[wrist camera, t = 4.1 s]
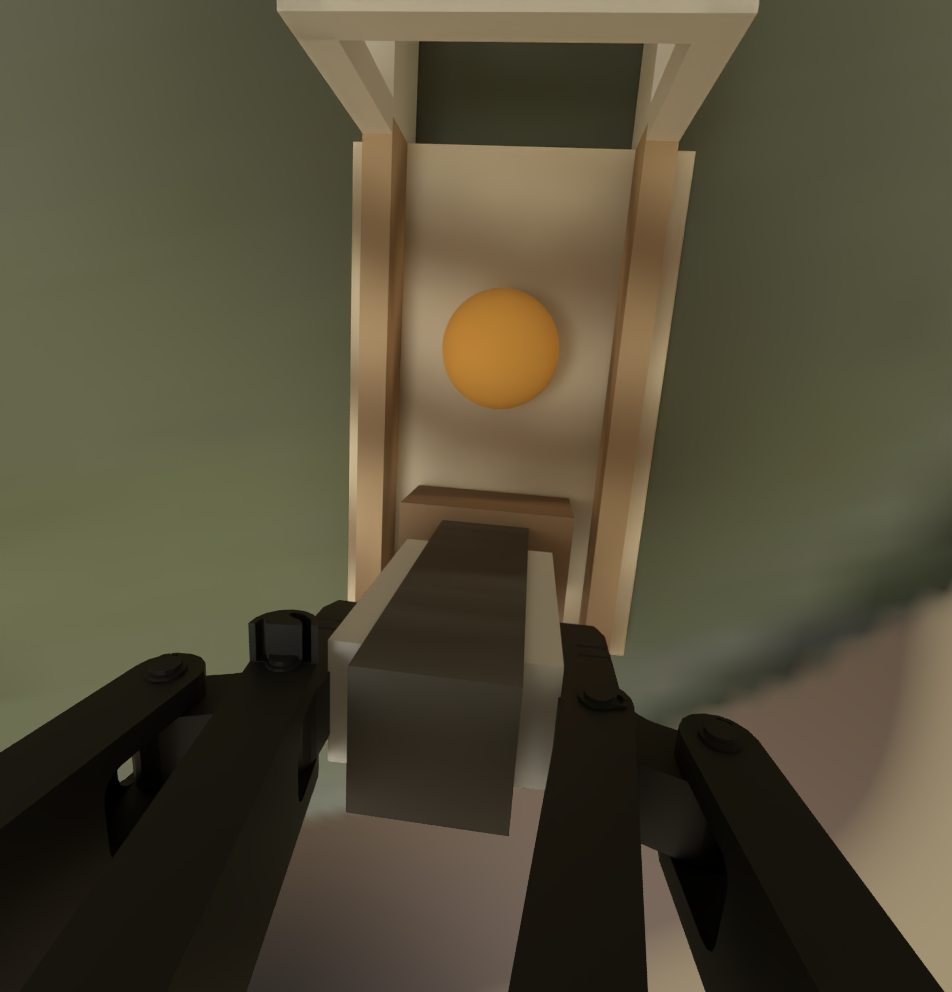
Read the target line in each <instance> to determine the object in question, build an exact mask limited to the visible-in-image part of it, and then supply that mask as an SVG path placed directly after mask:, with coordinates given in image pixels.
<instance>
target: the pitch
mask: <svg viewBox="0 0 952 992" xmlns="http://www.w3.org/2000/svg"><path fill="white" fill-rule="evenodd" d="M647 127H648V123H647V126H646V128H645V130H644V132H643V135H642V137H641V139H640V141H639V144H638V146H637V148H636V150H628V149H592V148H557V147H521V146H486V145H450V144H414V143H407V141H406V139H405V138H404V136H403V134H402V132H401V130H400V128H399V126H398V125H397V123H396V121H395V119H394V117H393V131H392V134H385V133H362V142H353V204H352V290H351V376H350V463H349V549H348V601H352V602H358V601H359V600H360V599H361V597H362V596H363V595H364V593H365V592H366V591H367V590H368V588H369V587H370V586H371V585H372V583H373V582H374V581H375V579H376V578H377V577H378V576H379V574H380V573H381V572H382V571H383V569H384V568H385V567H386V566H387V564H388V563H389V562H390V560H391V559H392V558H393V557H394V555H395V554H396V553H397V552H398V550H399V531H400V502H401V501H402V500H403V499H404V498H406V497H407V496H408V495H409V494H410V493H411V492H412V491H413V490H414V489H415V488H416V487H417V486H418V485H424V486H435V487H446V488H458V489H469V490H480V491H492V492H503V493H514V494H526V495H537V496H548V497H560V498H569V501H570V504H571V507H572V511H573V514H574V518H575V519H574V528H573V536H572V545H571V554H570V563H569V572H568V581H567V590H566V598H565V607H564V616H563V623H570V624H580V625H589V626H594V627H595V628H596V629H598V630H599V631H600V632H601V633H602V634H603V635H604V636H605V639H606V642H607V646H608V650H609V653H610V654H612V655H620V656H623V654H624V647H625V640H626V634H627V627H628V620H629V613H630V606H631V599H632V592H633V585H634V578H635V571H636V564H637V557H638V550H639V543H640V536H641V529H642V522H643V515H644V508H645V501H646V494H647V487H648V480H649V473H650V467H651V460H652V453H653V446H654V439H655V432H656V425H657V418H658V411H659V404H660V397H661V390H662V383H663V376H664V369H665V362H666V355H667V348H668V341H669V334H670V327H671V320H672V313H673V306H674V300H675V293H676V286H677V279H678V272H679V265H680V258H681V251H682V244H683V237H684V230H685V223H686V216H687V209H688V202H689V195H690V188H691V181H692V174H693V167H694V160H695V153H696V151H678V146H679V141H650V140H646V135H647ZM492 288H512V289H516V290H520V291H522V292H524V293H527V294H529V295H530V296H532V297H534V298H535V299H536V300H537V301H539V302H540V303H541V304H542V305H543V306H544V307H545V308H546V310H547V311H548V313H549V314H550V316H551V317H552V319H553V321H554V324H555V326H556V329H557V333H558V337H559V358H558V363H557V366H556V370H555V372H554V374H553V376H552V378H551V380H550V382H549V383H548V384H547V386H546V387H545V388H544V390H543V391H542V392H540V393H539V394H538V395H537V396H536V397H535V398H533V399H532V400H530V401H528V402H527V403H525V404H522V405H520V406H517V407H513V408H508V409H493V408H487V407H484V406H480V405H478V404H476V403H474V402H472V401H470V400H469V399H467V398H466V397H465V396H463V395H462V394H461V393H460V392H459V391H458V390H457V389H456V387H455V386H454V385H453V383H452V382H451V380H450V378H449V376H448V374H447V372H446V369H445V365H444V361H443V354H442V345H443V337H444V333H445V330H446V327H447V324H448V322H449V320H450V318H451V316H452V315H453V314H454V312H455V311H456V309H457V308H458V307H459V306H460V305H461V304H462V303H463V302H464V301H466V300H467V299H468V298H470V297H471V296H473V295H474V294H477V293H479V292H481V291H484V290H487V289H492Z"/></svg>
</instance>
